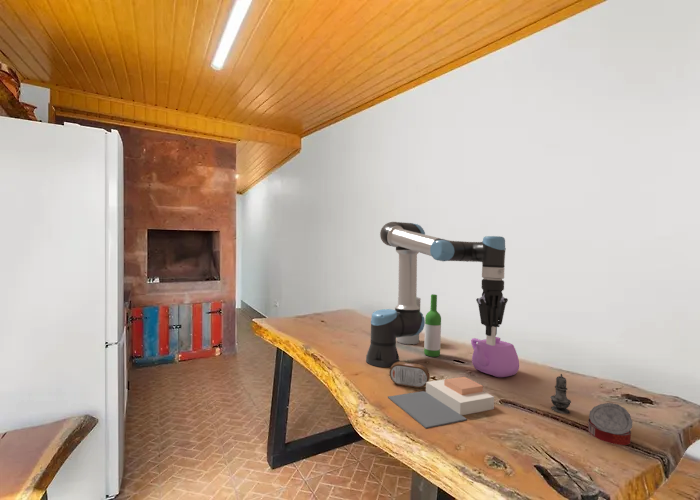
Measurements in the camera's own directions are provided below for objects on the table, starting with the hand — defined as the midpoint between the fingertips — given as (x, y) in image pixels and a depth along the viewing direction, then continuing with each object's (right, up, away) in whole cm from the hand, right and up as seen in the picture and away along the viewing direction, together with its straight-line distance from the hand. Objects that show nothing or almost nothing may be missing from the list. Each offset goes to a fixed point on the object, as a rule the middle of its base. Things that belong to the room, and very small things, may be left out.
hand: (490, 344), depth 125 cm
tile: (-12, -14, -5) cm, 19 cm away
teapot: (+11, -19, +25) cm, 33 cm away
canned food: (+23, -20, -26) cm, 40 cm away
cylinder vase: (-18, -18, +71) cm, 75 cm away
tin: (-29, -18, +7) cm, 34 cm away
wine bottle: (-10, -18, +47) cm, 52 cm away
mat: (-26, -17, -12) cm, 34 cm away
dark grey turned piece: (+19, -19, -10) cm, 29 cm away
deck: (-14, -18, -6) cm, 23 cm away
